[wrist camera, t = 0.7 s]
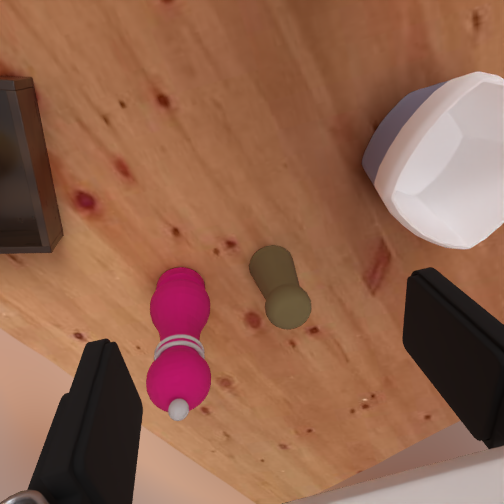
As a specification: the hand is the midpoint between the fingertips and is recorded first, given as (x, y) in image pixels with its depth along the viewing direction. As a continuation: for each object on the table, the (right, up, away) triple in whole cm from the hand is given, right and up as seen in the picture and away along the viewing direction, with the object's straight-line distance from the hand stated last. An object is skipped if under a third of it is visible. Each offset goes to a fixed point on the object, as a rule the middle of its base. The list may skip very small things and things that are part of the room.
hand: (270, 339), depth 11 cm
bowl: (+19, +15, +32) cm, 41 cm away
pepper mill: (-10, -2, +37) cm, 38 cm away
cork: (+2, +1, +37) cm, 37 cm away
